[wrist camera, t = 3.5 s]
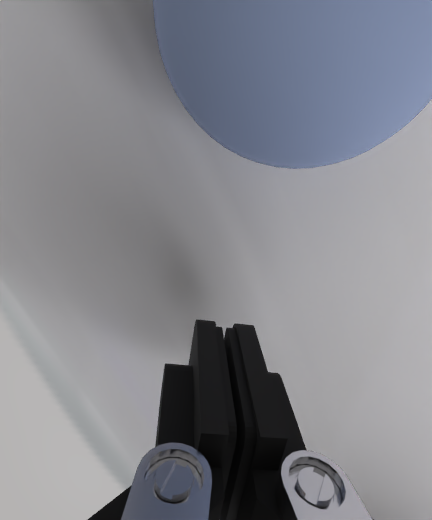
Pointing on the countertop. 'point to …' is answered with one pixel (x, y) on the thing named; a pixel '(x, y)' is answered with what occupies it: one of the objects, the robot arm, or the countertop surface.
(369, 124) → the blue ball
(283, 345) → the countertop surface
